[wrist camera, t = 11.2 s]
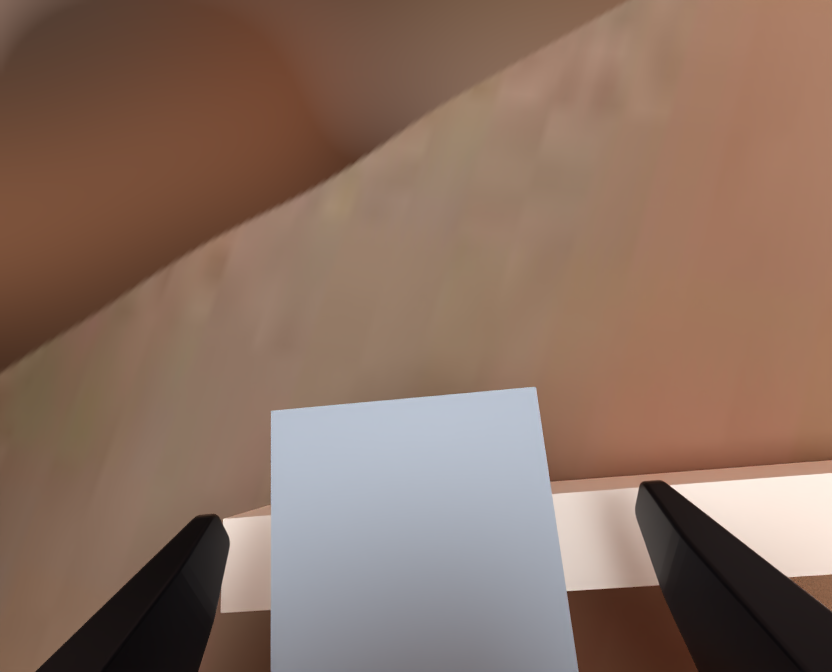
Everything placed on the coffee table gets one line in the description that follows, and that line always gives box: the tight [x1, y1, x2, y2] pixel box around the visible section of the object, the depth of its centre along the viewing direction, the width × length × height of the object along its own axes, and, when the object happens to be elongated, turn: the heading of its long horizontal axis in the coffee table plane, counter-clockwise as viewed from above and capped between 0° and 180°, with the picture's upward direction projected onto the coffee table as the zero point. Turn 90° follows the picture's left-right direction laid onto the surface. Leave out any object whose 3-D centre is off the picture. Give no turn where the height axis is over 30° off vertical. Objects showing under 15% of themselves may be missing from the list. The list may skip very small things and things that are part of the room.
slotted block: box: [271, 387, 579, 672], centre depth 11 cm, size 7×4×10 cm, turn 5°
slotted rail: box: [221, 460, 832, 613], centre depth 14 cm, size 2×20×4 cm, turn 94°
